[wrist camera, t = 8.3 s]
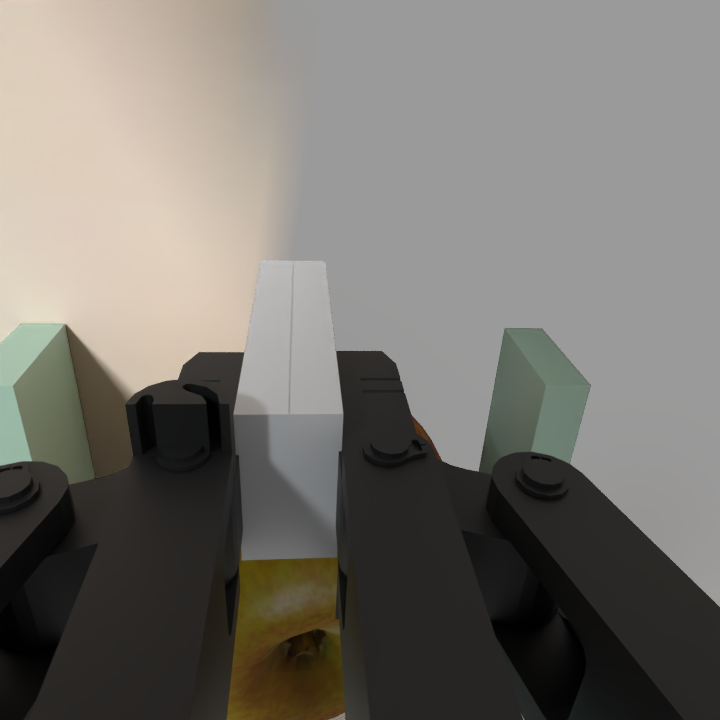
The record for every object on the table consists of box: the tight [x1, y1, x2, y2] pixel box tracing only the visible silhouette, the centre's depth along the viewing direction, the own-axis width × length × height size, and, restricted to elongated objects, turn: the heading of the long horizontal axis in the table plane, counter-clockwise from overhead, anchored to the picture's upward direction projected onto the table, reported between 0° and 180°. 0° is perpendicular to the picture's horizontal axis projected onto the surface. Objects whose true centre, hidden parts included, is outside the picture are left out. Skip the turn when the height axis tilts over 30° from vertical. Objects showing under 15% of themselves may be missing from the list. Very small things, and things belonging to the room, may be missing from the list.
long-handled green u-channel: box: [0, 324, 591, 485], centre depth 13 cm, size 11×15×16 cm
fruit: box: [227, 415, 442, 720], centre depth 16 cm, size 10×9×8 cm
